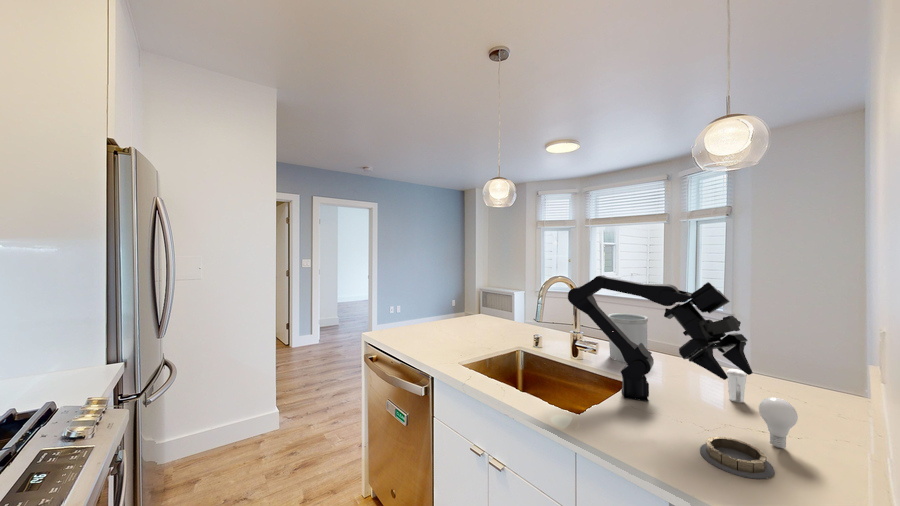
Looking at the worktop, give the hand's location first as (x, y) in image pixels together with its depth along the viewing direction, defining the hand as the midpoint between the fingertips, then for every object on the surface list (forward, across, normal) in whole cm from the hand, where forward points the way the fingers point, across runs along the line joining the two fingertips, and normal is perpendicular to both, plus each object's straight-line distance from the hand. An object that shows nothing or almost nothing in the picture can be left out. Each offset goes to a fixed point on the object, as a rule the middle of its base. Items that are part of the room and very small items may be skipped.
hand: (738, 376), depth 84 cm
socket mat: (+15, -14, +4) cm, 21 cm away
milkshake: (+2, +18, +17) cm, 25 cm away
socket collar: (+15, -14, +4) cm, 21 cm away
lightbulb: (+15, 0, +4) cm, 16 cm away
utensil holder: (-28, +21, +47) cm, 59 cm away
